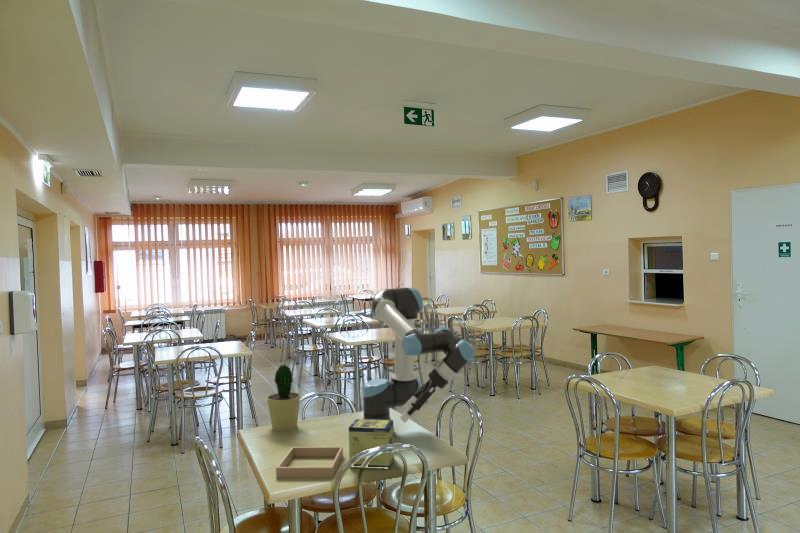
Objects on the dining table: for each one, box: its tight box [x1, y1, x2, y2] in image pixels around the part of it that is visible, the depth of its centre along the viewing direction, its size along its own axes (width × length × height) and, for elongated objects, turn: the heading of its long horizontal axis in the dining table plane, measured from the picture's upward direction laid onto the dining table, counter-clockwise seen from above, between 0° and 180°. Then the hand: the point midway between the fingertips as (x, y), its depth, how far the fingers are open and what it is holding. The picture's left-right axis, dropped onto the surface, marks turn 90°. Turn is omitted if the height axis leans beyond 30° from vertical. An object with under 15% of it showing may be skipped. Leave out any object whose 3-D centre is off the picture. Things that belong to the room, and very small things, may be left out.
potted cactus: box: [266, 364, 301, 432], centre depth 257 cm, size 15×15×30 cm
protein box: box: [348, 418, 395, 469], centre depth 208 cm, size 10×16×16 cm
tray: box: [275, 446, 344, 478], centre depth 207 cm, size 21×22×4 cm
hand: (403, 414), depth 207 cm, fingers open, 13 cm apart
